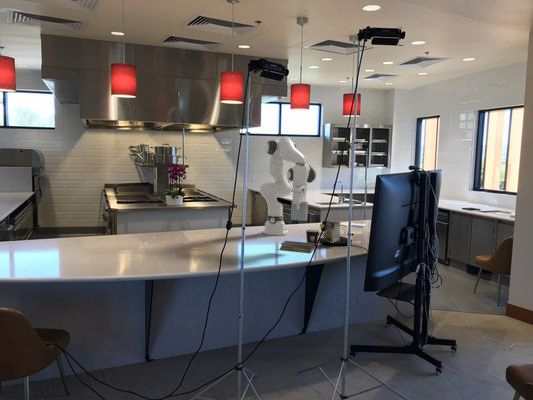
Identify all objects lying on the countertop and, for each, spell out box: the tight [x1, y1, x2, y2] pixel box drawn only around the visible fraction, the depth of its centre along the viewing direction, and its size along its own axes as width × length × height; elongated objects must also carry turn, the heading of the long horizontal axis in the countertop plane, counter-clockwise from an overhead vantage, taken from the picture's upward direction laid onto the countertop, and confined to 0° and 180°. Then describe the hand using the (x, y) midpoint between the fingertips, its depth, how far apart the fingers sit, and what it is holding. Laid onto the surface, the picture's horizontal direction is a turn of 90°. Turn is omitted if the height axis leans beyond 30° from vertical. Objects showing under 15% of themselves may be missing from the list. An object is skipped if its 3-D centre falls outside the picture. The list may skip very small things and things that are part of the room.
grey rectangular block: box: [290, 200, 309, 222], centre depth 292 cm, size 3×10×12 cm, turn 71°
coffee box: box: [323, 219, 341, 243], centre depth 312 cm, size 9×6×16 cm
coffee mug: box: [305, 229, 324, 246], centre depth 307 cm, size 12×9×10 cm
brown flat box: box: [279, 240, 316, 254], centre depth 295 cm, size 14×20×4 cm
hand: (299, 209), depth 292 cm, fingers closed on grey rectangular block, 3 cm apart
